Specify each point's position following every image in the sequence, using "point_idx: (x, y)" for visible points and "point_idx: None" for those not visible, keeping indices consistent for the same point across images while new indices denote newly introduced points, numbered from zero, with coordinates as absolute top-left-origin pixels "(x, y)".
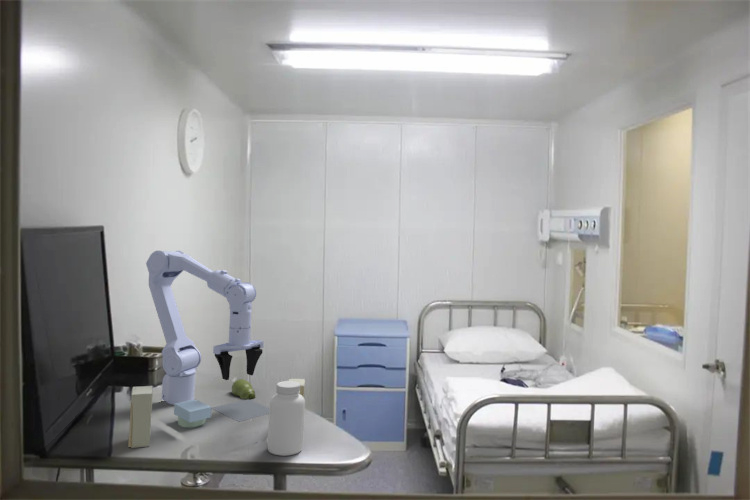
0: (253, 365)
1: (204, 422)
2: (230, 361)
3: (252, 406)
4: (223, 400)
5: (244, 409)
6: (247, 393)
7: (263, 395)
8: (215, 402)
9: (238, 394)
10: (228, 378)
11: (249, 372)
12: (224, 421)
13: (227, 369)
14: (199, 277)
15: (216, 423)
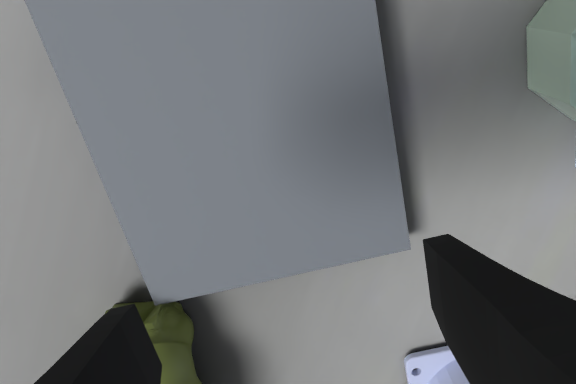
0: (70, 380)
1: (560, 6)
2: (570, 363)
3: (168, 169)
4: (271, 376)
5: (236, 134)
6: (151, 338)
7: (39, 374)
8: (319, 364)
9: (195, 373)
10: (434, 241)
11: (139, 349)
12: (395, 51)
13: (522, 287)
14: None
15: (450, 39)
